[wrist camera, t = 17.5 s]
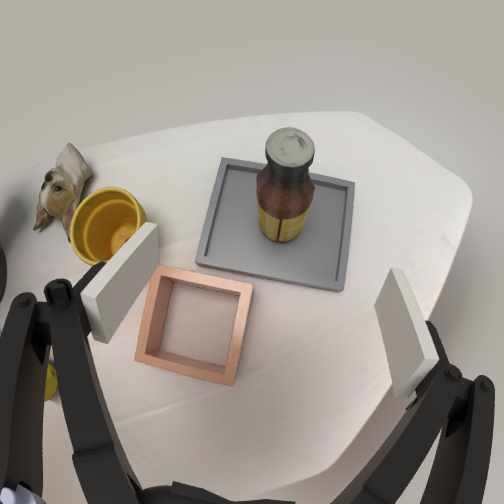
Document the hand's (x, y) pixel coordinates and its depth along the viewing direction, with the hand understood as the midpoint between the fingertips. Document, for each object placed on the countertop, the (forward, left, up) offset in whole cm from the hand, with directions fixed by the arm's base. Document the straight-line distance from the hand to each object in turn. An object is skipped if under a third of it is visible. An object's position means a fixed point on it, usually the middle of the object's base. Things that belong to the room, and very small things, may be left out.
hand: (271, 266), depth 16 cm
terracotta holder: (-8, -5, -26) cm, 27 cm away
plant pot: (-21, +4, -26) cm, 33 cm away
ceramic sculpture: (-35, +10, -26) cm, 45 cm away
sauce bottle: (0, +11, -25) cm, 27 cm away
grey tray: (0, +11, -26) cm, 28 cm away
